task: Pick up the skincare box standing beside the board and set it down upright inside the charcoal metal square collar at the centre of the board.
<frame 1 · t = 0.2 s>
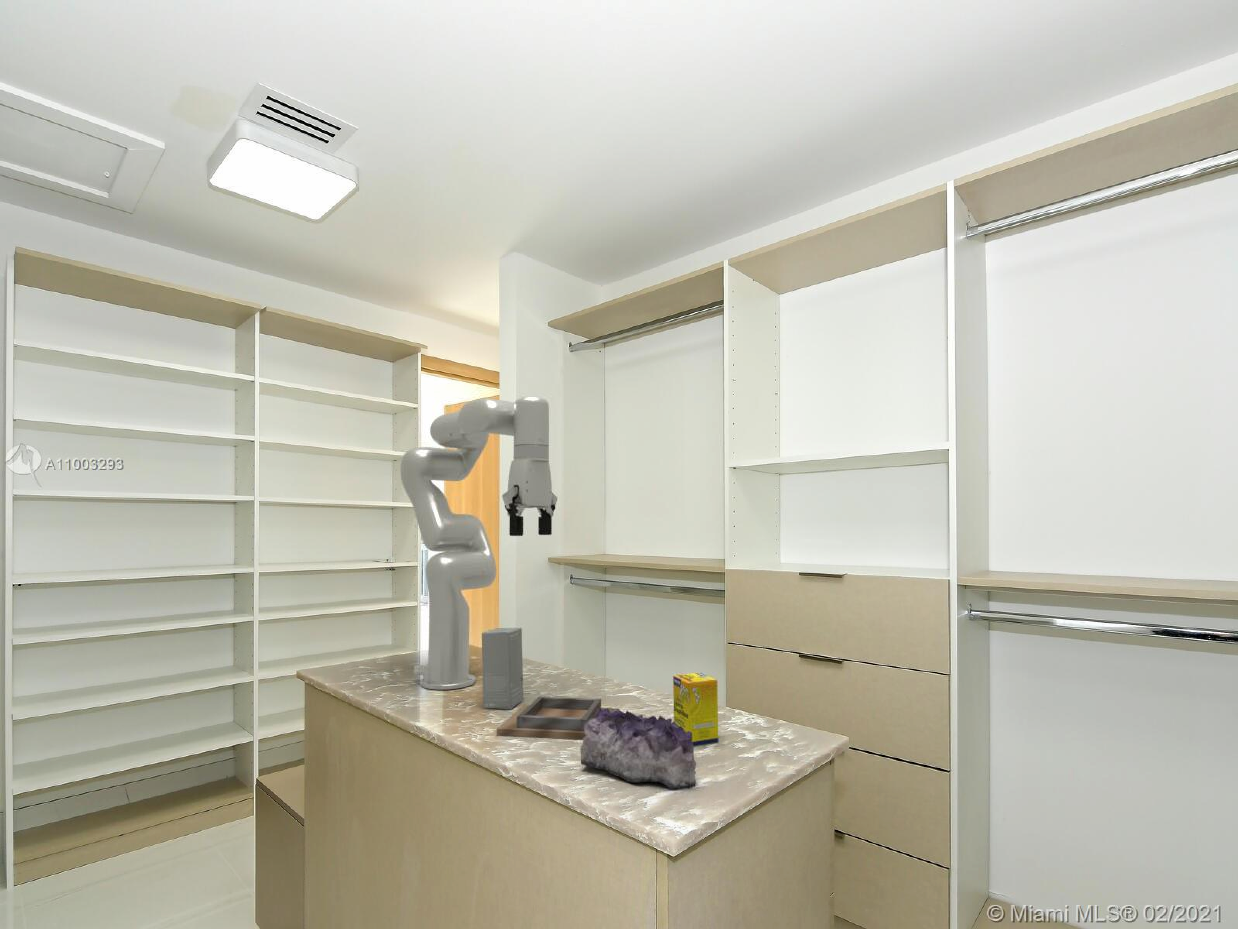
hand: (531, 535, 139), 36 cm above the worktop, fingers open, 9 cm apart
supplement box: (695, 741, 116), on the worktop
geode: (640, 772, 102), on the worktop
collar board: (560, 724, 125), on the worktop
skincare box: (502, 705, 140), on the worktop
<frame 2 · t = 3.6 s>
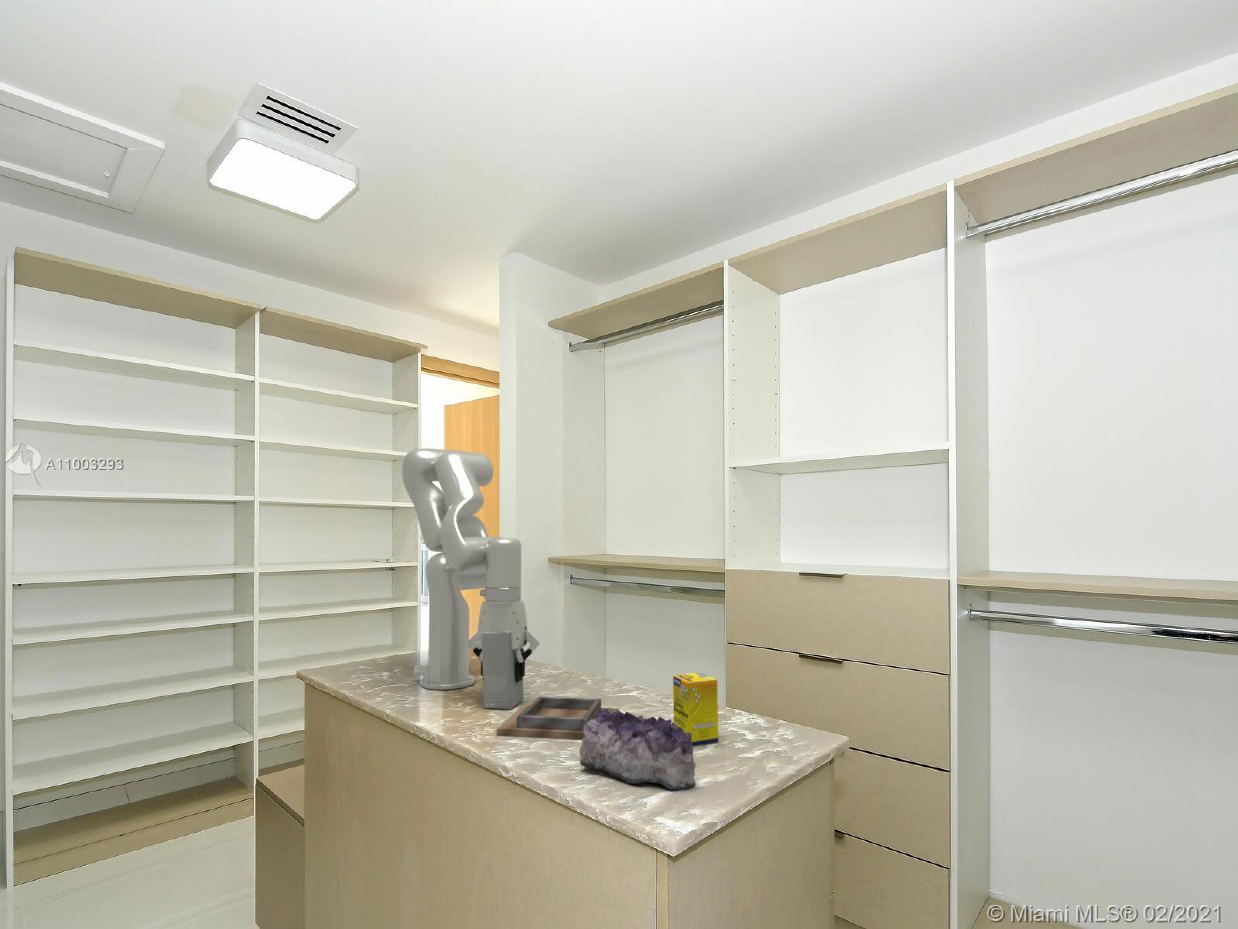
hand: (502, 679, 140), 5 cm above the worktop, fingers closed on skincare box, 6 cm apart
skincare box: (502, 705, 140), on the worktop, touching gripper
everything else where it was.
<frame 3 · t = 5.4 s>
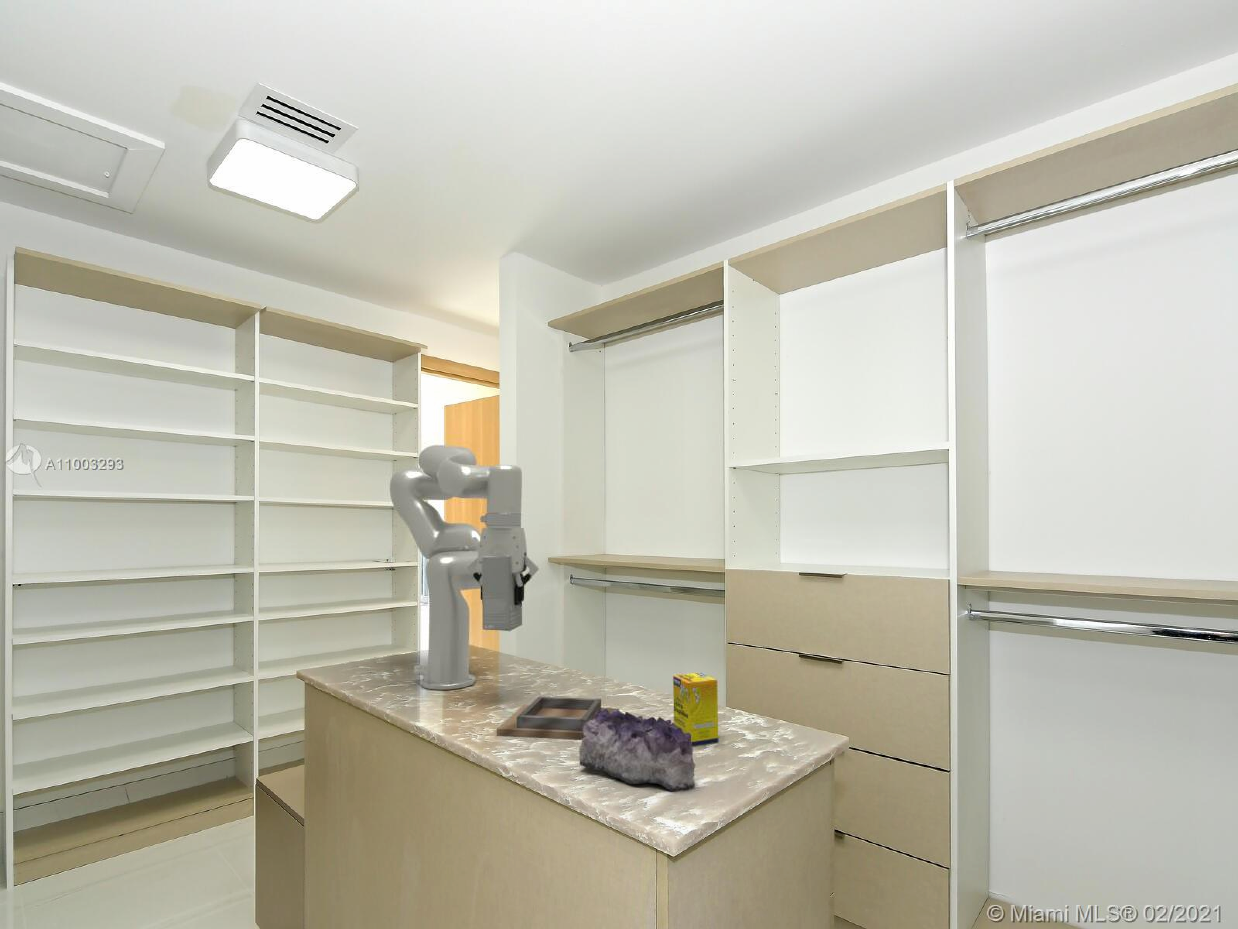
hand: (502, 603, 142), 21 cm above the worktop, fingers closed on skincare box, 6 cm apart
skincare box: (501, 629, 142), point 16 cm above the worktop, touching gripper
everything else where it was.
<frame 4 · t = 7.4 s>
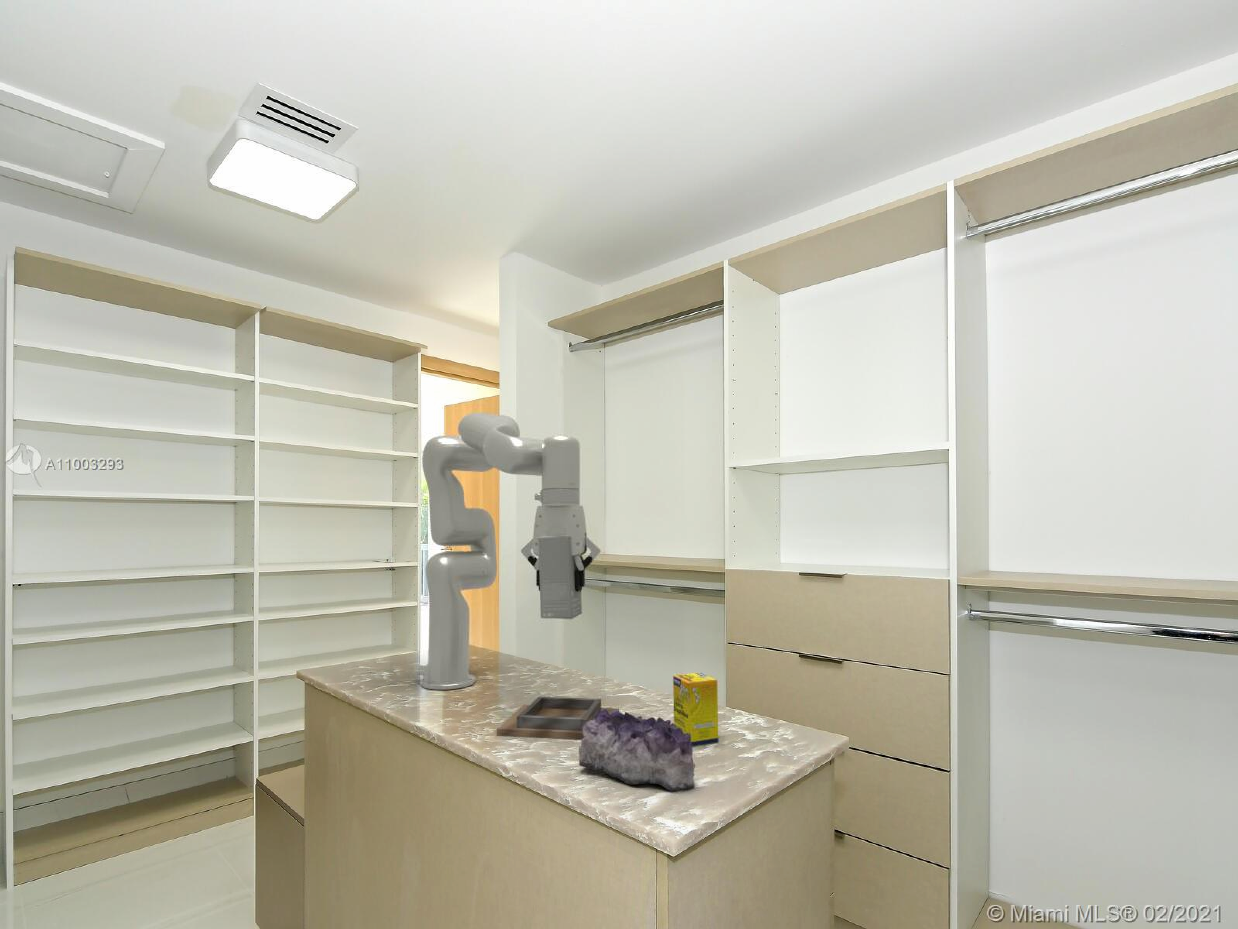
hand: (560, 589, 128), 26 cm above the worktop, fingers closed on skincare box, 6 cm apart
skincare box: (560, 617, 127), point 20 cm above the worktop, touching gripper
everything else where it was.
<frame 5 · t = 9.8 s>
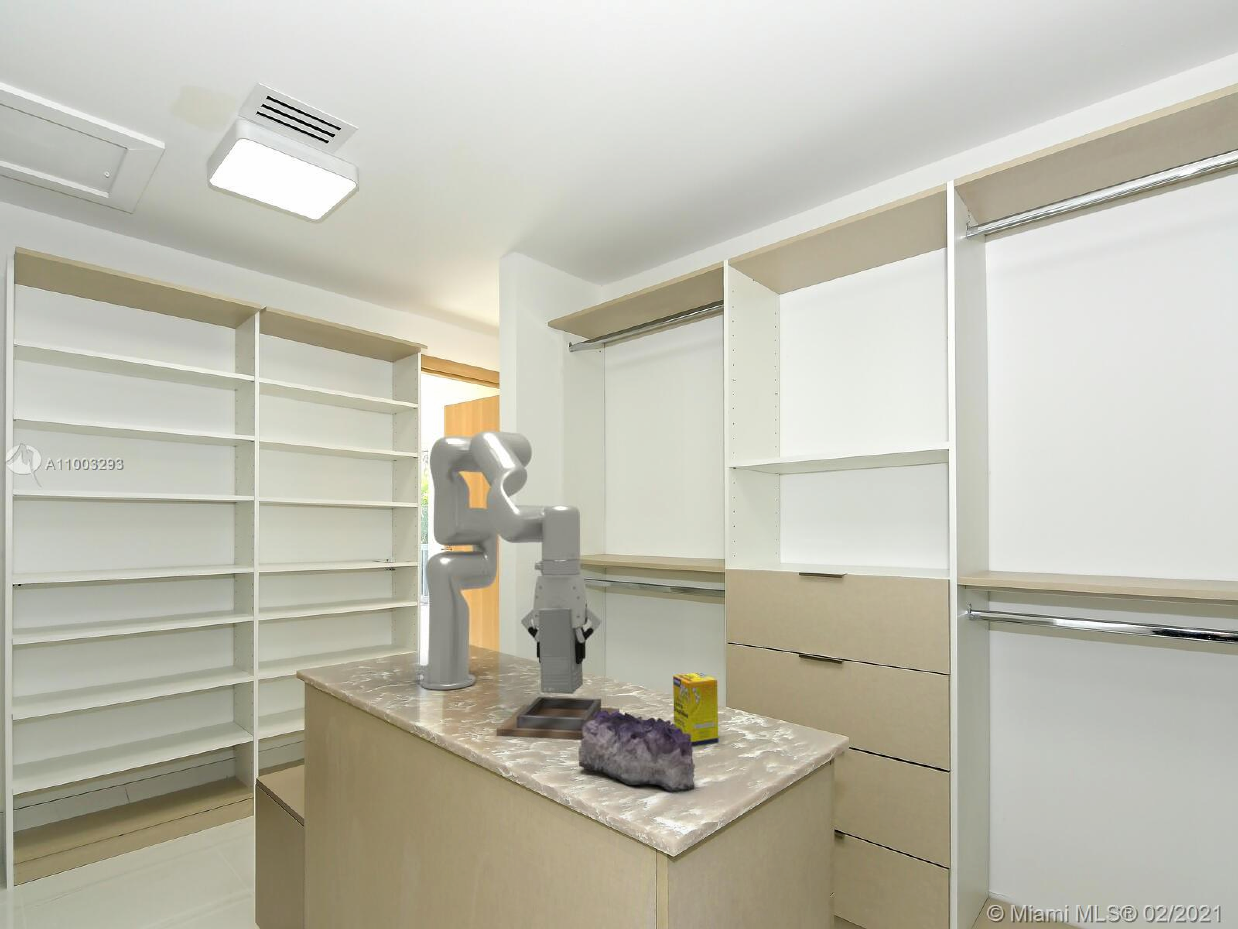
hand: (561, 661, 126), 12 cm above the worktop, fingers closed on skincare box, 6 cm apart
skincare box: (561, 690, 126), point 6 cm above the worktop, touching gripper
everything else where it was.
when the fingers open (8 cm above the worktop, at t = 11.7 s): skincare box drops 1 cm, resting on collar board.
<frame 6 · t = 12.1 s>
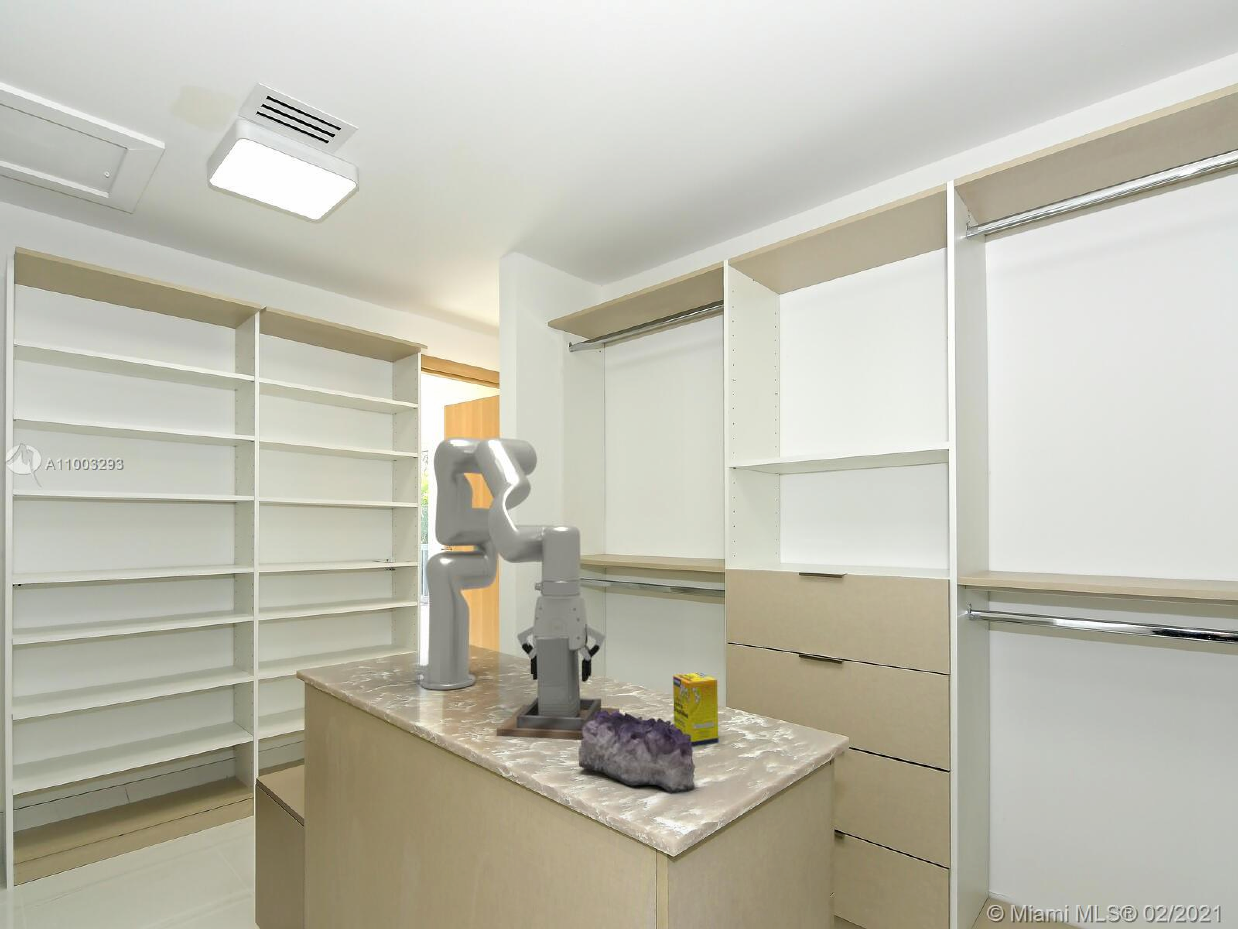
hand: (560, 679, 126), 8 cm above the worktop, fingers open, 9 cm apart
skincare box: (558, 718, 126), point 1 cm above the worktop, touching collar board
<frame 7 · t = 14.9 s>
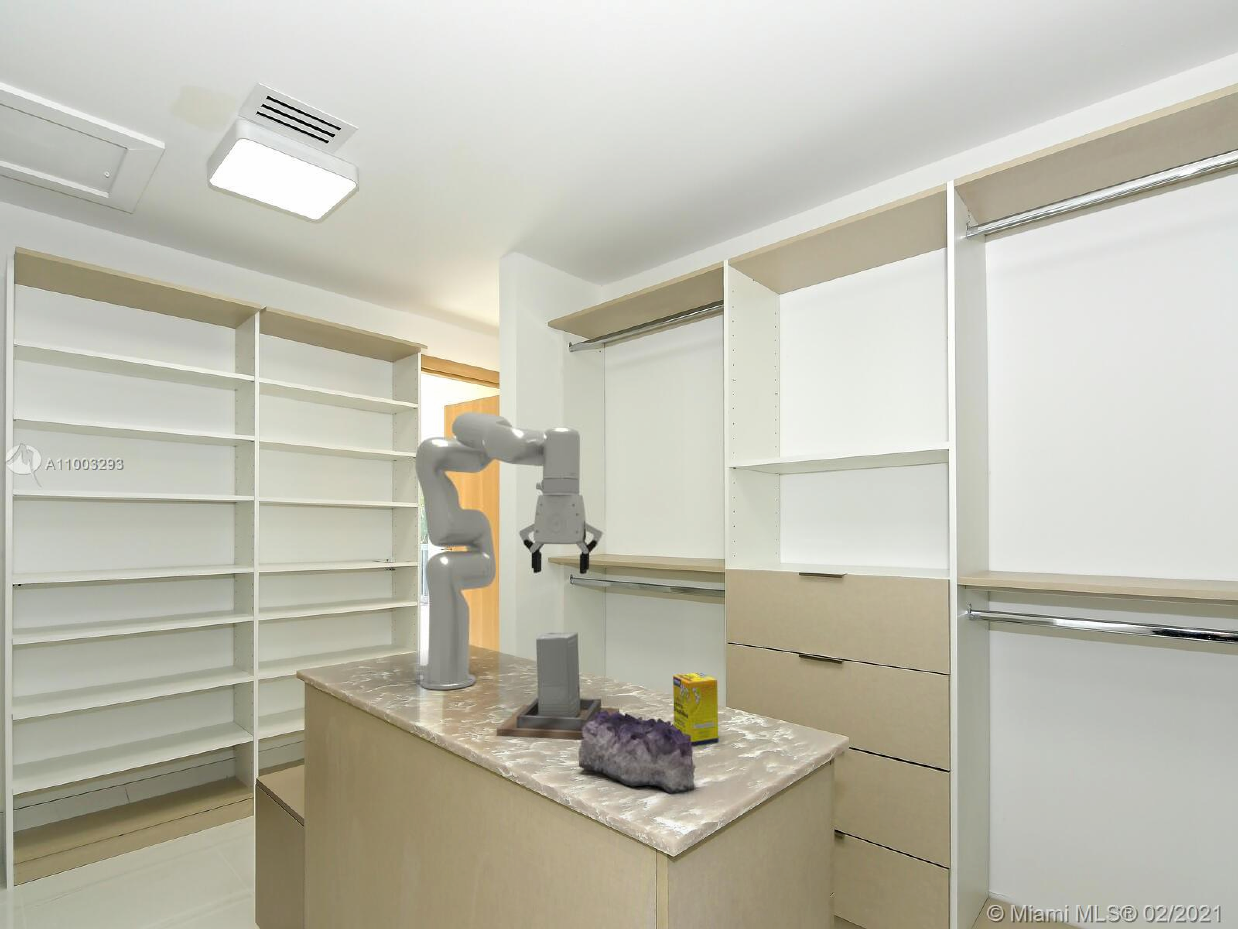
hand: (560, 572, 133), 28 cm above the worktop, fingers open, 9 cm apart
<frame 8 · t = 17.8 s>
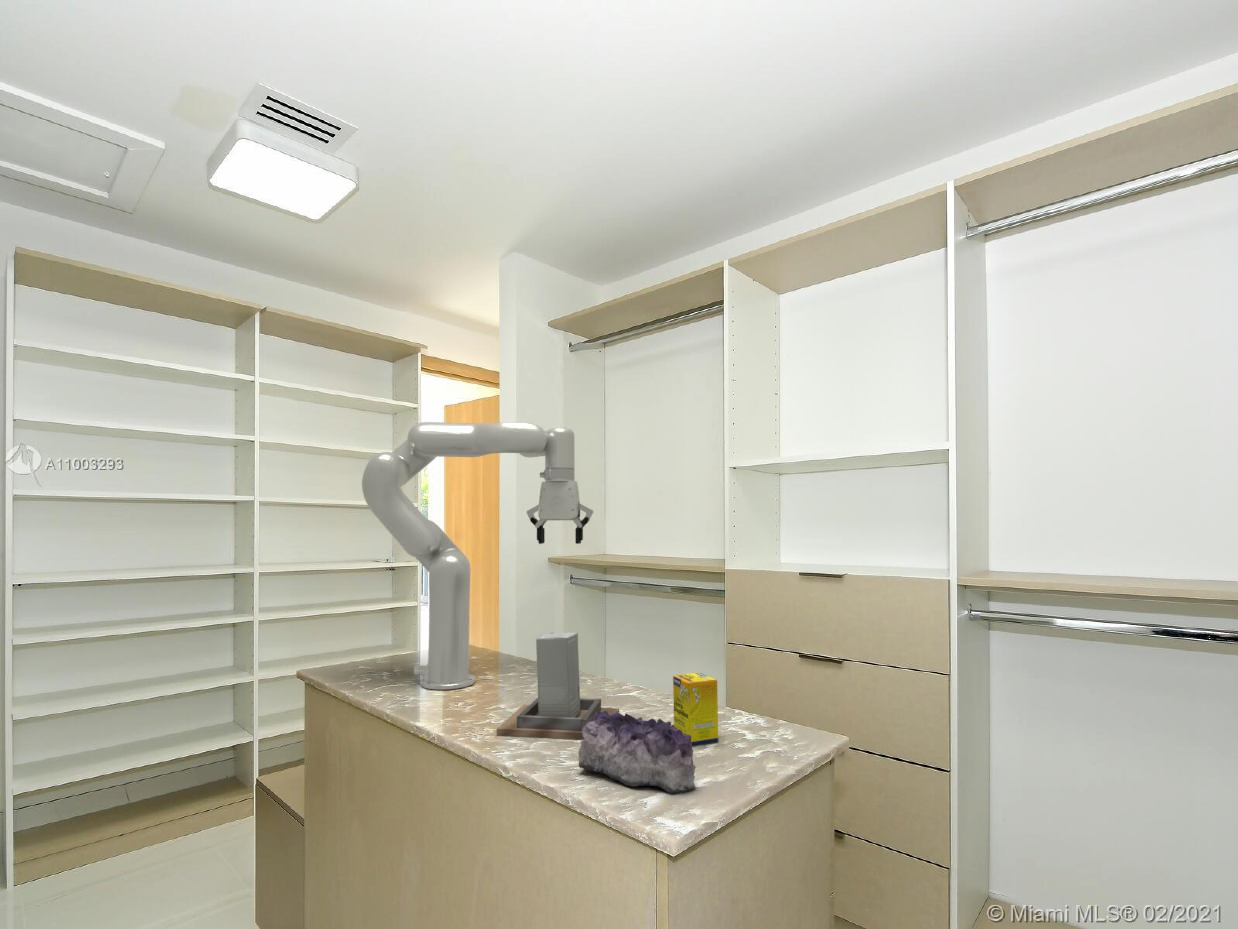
hand: (559, 543, 166), 33 cm above the worktop, fingers open, 9 cm apart
at the end: skincare box 0.5 cm off-centre on the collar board, point 1.0 cm above the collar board's base; skincare box tilted 0°; the gripper is holding nothing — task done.
